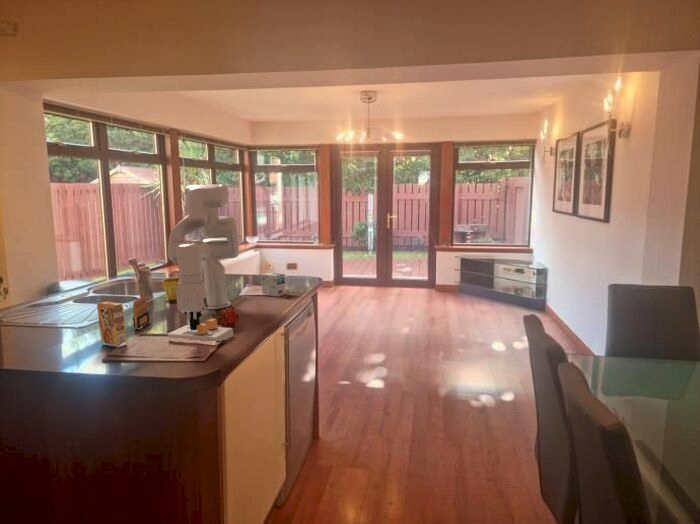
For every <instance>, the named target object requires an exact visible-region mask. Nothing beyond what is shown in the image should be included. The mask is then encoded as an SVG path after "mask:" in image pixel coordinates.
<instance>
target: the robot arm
mask: <svg viewBox="0 0 700 524" xmlns="http://www.w3.org/2000/svg"><path fill="white" fill-rule="evenodd" d="M229 194H230V193H229V190H228V187H227V185H225V184H220V183H219V184H218V183H217V184H216V183H215V184H191V185H188V186H186V187H185V188H184V195H185V204H184V216H183V218H182V219H181V220H180V221H179V222H177V223H176V225H175V226H173V228H172V229H171V231H170V233H169V236H168V244H167V256H168V258H169V260H170V261H171V262H173V263H177V264H178V275H177V276H176V278H178V279H180V283H178V287H177V300H176V305H177V306H176V307H177V310H178V311H179V313H181V314H184V315H185V316H186V317H187V319H188V320H189V325H190V328H191V330H194V331H195V330H197V325H199V324H201V323H200V321H201V320H200V318H201V317H202V316H203V315H206V314H208V310H219V309H224V308H229V307H230V306H231V304H232V303H231V301H229V300H228V297H227V295H228V294H227V284H226V283H227V281H226V270H225V266H224V265H223V263H222V262H221V261H220V260H224V259H236V258H237V257H238V256H239V254H240V243H239V235H238V228H237V222H236V220H235V218H234V217H233V216H230V215H223V216H222V215H219V214H218V211H217V209H218V208H223V207H225V206H226V205H227V203H228V201H229V196H230V195H229ZM197 230H199V233H200V235H201V236H202V238H205V239H203V240H200V241H191V240H187V241H186V240H184V241H182V240H181V239H183V238H184V237H185V236H187V235H188V234H191V233H194V232H196V231H197ZM180 240H181V241H180ZM201 261H202V266H203V267H202V268H203V274H204V282H202V271H201Z"/></svg>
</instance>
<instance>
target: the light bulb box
mask: <svg viewBox="0 0 700 524" xmlns="http://www.w3.org/2000/svg"><path fill="white" fill-rule="evenodd" d="M260 279H261V291H262V293H263V294H267V295H266V296H269V295H270V297H281V296H284V295H286V294H287V286H286V274H285V273H279V272H265V273H261V274H260ZM262 293H261V294H262ZM283 294H284V295H283Z"/></svg>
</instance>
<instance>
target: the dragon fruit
mask: <svg viewBox="0 0 700 524" xmlns="http://www.w3.org/2000/svg"><path fill="white" fill-rule="evenodd" d="M215 314H216V315H215V318H214V319H217V326H218V327H223V328H234V327H236V324H237V323H238V321H239V318H240V315H239V313H238V311H237V310H236V309H233V308H232V307H230V306H228V307H225V308H222V309H221V310H219V311H217V312H216V313H215Z"/></svg>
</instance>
